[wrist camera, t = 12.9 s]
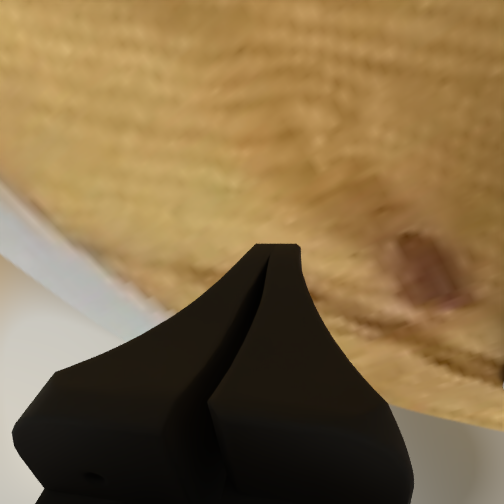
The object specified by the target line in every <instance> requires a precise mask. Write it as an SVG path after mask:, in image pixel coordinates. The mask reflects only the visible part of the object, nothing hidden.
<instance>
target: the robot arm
mask: <svg viewBox="0 0 504 504" xmlns="http://www.w3.org/2000/svg"><path fill="white" fill-rule="evenodd" d="M503 389H504V382H503ZM12 436H13V442H14V446H15V448H16V450H17V452H18V454H19V455H20V457H21V458H22V459H23V461H24V462H25V463H26V465H27V466H28V467H29V469H30V470H31V471H32V473H33V474H34V475H35V477H36V478H37V479H38V481H39V482H40V483H41V484H42V486H43V487H44V490H43V492H42V493H41V496H40V497H39V498H38V500H37V502H36V503H35V504H410V503H411V498H412V493H413V489H414V475H413V470H412V465H411V461H410V458H409V455H408V451H407V448H406V445H405V442H404V440H403V437H402V435H401V433H400V430H399V427H398V425H397V423H396V421H395V418H394V416H393V414H392V412H391V409H390V407H389V405H388V403H387V402H386V401H385V400H384V399H383V398H382V397H381V396H380V395H379V394H378V393H377V392H376V391H375V390H374V389H373V388H372V387H371V385H370V384H369V383H368V382H367V381H366V380H365V379H364V378H363V377H362V375H361V374H360V373H359V372H358V371H357V369H356V368H355V367H354V366H353V365H352V363H351V362H350V361H349V360H348V358H347V357H346V355H345V354H344V353H343V351H342V350H341V349H340V347H339V346H338V344H337V343H336V342H335V340H334V339H333V337H332V336H331V334H330V332H329V331H328V329H327V328H326V326H325V324H324V322H323V321H322V319H321V317H320V315H319V313H318V311H317V309H316V307H315V305H314V303H313V301H312V298H311V296H310V294H309V291H308V288H307V286H306V283H305V279H304V276H303V273H302V266H301V247H300V246H298V245H297V244H255V245H254V246H253V247H252V248H251V249H250V250H249V251H248V252H247V253H246V254H245V255H244V256H243V257H242V258H241V259H240V260H239V261H238V262H237V263H236V264H235V265H234V266H233V267H232V268H231V269H230V270H229V271H228V272H227V273H226V274H225V275H224V276H223V277H222V278H221V279H220V280H219V281H218V282H216V283H215V284H214V285H213V286H212V287H211V288H209V289H208V290H207V291H206V292H205V293H204V294H202V295H201V296H200V297H199V298H198V299H196V300H195V301H194V302H192V303H191V304H190V305H188V306H187V307H185V308H184V309H182V310H181V311H180V312H178V313H177V314H175V315H174V316H172V317H171V318H169V319H167V320H166V321H164V322H162V323H161V324H159V325H157V326H156V327H154V328H152V329H150V330H149V331H147V332H145V333H144V334H142V335H140V336H138V337H136V338H134V339H132V340H130V341H128V342H126V343H124V344H122V345H120V346H118V347H116V348H114V349H112V350H109V351H107V352H105V353H103V354H101V355H98V356H96V357H93V358H91V359H88V360H86V361H83V362H81V363H78V364H75V365H73V366H71V367H68V368H65V369H63V370H60V371H57V372H55V373H54V374H53V376H52V377H51V378H50V379H49V381H48V382H47V383H46V385H45V386H44V387H43V388H42V390H41V391H40V392H39V394H38V395H37V396H36V397H35V399H34V400H33V402H32V403H31V404H30V405H29V407H28V408H27V409H26V410H25V412H24V413H23V414H22V416H21V417H20V419H19V420H18V421H17V422H16V423H15V425H14V428H13V430H12Z"/></svg>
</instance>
